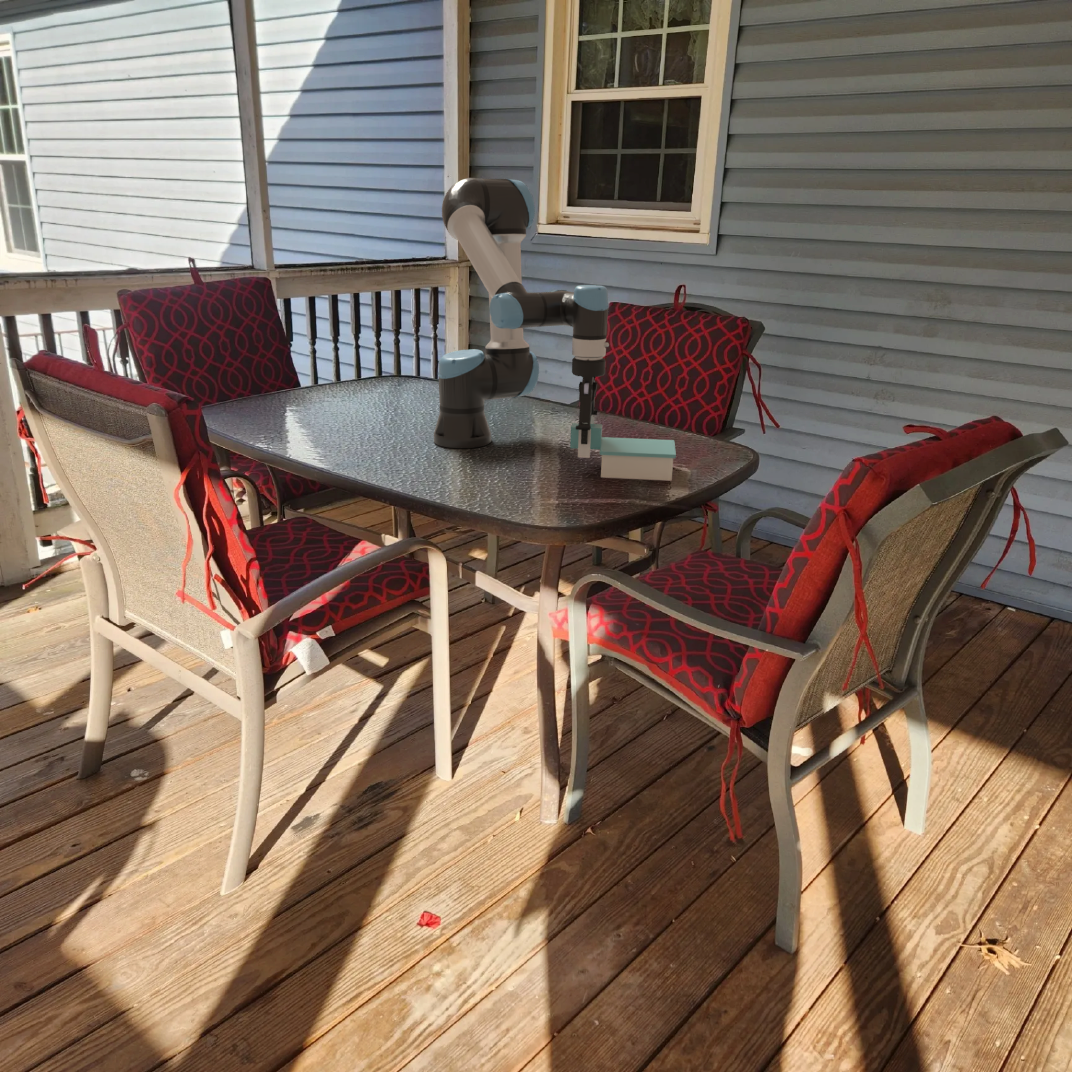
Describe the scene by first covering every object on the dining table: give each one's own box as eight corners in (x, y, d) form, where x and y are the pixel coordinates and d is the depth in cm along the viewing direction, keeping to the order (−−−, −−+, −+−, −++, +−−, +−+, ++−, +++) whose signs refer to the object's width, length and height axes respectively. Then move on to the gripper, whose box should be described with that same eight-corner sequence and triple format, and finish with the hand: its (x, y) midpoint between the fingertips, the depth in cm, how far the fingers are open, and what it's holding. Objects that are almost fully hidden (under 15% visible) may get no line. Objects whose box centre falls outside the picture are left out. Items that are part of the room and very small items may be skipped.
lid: (568, 453, 193) (569, 431, 191) (573, 439, 205) (573, 418, 203) (675, 458, 190) (677, 436, 189) (673, 443, 203) (675, 422, 201)
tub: (600, 479, 195) (601, 454, 193) (603, 465, 206) (604, 441, 204) (671, 483, 193) (673, 457, 191) (670, 468, 204) (671, 443, 202)
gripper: (603, 367, 179) (599, 465, 187) (608, 349, 202) (604, 437, 210) (567, 365, 180) (565, 463, 188) (576, 348, 203) (573, 436, 211)
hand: (585, 449), depth 199 cm, fingers open, 12 cm apart
